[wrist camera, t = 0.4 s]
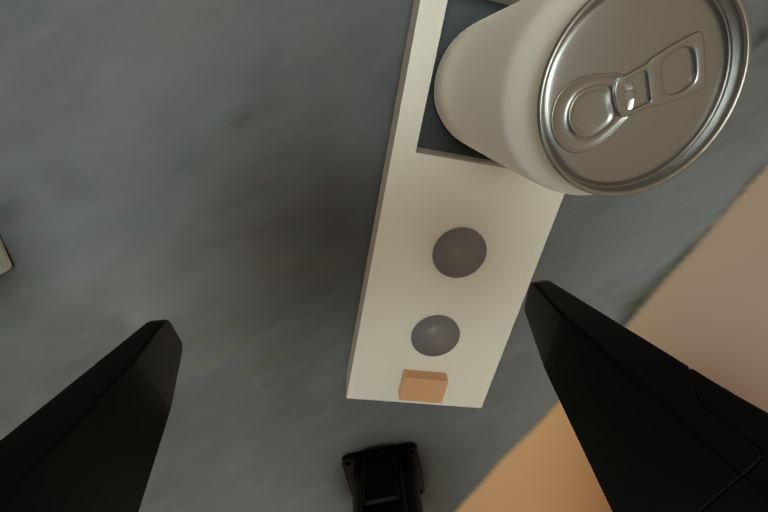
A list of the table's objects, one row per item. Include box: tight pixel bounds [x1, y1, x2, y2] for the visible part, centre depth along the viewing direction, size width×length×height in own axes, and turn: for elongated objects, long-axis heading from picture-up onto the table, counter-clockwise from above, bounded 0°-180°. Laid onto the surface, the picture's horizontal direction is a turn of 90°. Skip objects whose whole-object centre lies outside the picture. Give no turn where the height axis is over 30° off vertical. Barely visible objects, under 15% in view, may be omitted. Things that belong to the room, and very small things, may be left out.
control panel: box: [346, 0, 565, 408], centre depth 22 cm, size 26×10×3 cm, turn 170°
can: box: [434, 0, 752, 197], centre depth 15 cm, size 6×6×12 cm
